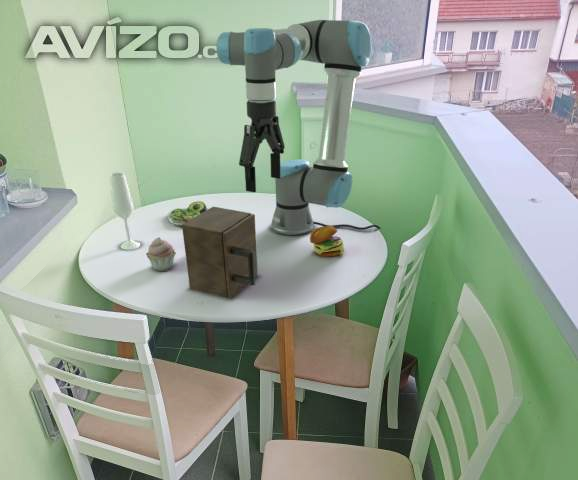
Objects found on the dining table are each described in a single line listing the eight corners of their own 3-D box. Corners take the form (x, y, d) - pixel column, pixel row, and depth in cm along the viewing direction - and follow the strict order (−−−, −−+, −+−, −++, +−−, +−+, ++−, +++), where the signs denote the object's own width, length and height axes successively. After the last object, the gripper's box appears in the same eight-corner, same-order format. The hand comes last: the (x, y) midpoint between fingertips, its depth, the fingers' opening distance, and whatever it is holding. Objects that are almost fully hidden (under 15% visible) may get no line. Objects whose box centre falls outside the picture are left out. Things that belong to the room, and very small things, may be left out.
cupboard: (254, 276, 176) (251, 213, 164) (227, 298, 165) (221, 232, 153) (218, 268, 181) (213, 206, 169) (189, 289, 169) (181, 224, 157)
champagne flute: (120, 250, 192) (105, 178, 178) (120, 242, 198) (106, 172, 183) (140, 248, 193) (127, 177, 179) (140, 241, 199) (128, 170, 184)
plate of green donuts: (218, 228, 207) (217, 216, 205) (168, 232, 205) (167, 219, 202) (214, 210, 223) (213, 198, 220) (168, 213, 220) (166, 201, 217)
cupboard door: (277, 280, 173) (275, 217, 161) (251, 303, 162) (247, 238, 150) (254, 275, 176) (251, 213, 164) (227, 298, 164) (222, 233, 153)
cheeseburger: (340, 260, 184) (334, 231, 179) (310, 263, 189) (303, 234, 183) (348, 247, 192) (342, 219, 186) (319, 250, 196) (312, 223, 191)
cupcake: (182, 268, 181) (179, 238, 175) (155, 276, 176) (150, 245, 170) (170, 258, 187) (165, 229, 181) (143, 265, 183) (138, 236, 177)
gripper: (272, 90, 155) (273, 170, 167) (221, 107, 137) (227, 195, 150) (296, 93, 152) (296, 174, 165) (248, 110, 134) (252, 199, 147)
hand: (263, 184), depth 157 cm, fingers open, 13 cm apart
